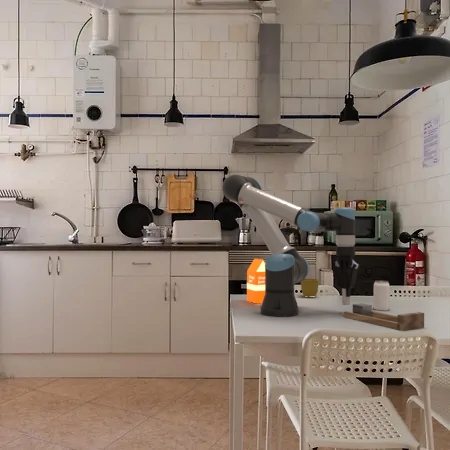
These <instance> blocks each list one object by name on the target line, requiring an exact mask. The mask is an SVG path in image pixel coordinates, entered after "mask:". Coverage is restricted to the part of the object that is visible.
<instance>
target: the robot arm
mask: <svg viewBox="0 0 450 450" xmlns="http://www.w3.org/2000/svg"><path fill="white" fill-rule="evenodd" d="M221 190H222V193H223V195H224V197H225V199H228V200H230V201H232V202H235V203H237V204H238V206H239V208H240V209H241V211H244V212H246V213H247V214H248V216H249V218H250V219H251V220H250V221H252V223H253V225H254V226H255V228H256V230H257V231H258V233H259V235H260V237H261V238H262V240H263V242H264V243H265V245H266V247H267V249H268V250H269V252H270V255H268V256H267V257H266V258H265V261H264V262H265V296H264V299H263V302H262V304H261V305H260V314H261V315H264V316H265V315H266V316H269V317H270V316H271V317H292V316H297V315H299V311H300V308H299V306H298V302H297V299H296V296H295V285H296V284H301V281H303V280H304V279H307V277H308V276H309V273H310V265H309V262H308V260H307V259H306V258H305V257H303V256H301V255H300V254H299V252H298V250H297V249H296V248H295V247H293V246H291V245H290V244H289V242H288V241H287V239H286V238H285V237H286V236H284V234H283V232H282V231H281V228H280V227H279V226H278V224H277V223H276V221H275V219H274V218H273V217H276V218H278V219H279V220H283V221H284V222H285V221H286V222H287V223H289V224H292V225H294V226H297V227H299V229H300V230H302V231H304V232H309V233H310V232H314V233H316V232H335V245H336V247H335V255H336V256H337V258H336V261H335V262H332V266H333V269H334V273H335V281H336V285H337V286H338V287H340V289H341V290H340V294H341V299H342V300H341V302H342V303H341V304H342V306H348V305H351V297H352V296H351V295H352V288H353V289H354V288H355V287H356V282H357V276H358V271H359V268H360V263H357V262H356V260H355V256H356V247H355V245H356V226H355V225H356V218H355V213H356V212H355V209H354V208H353V207H336V208H335V211H334V212H324V213H323V212H314V211H311V210H309V209H307V208H304V207H301V206H299V205H297V204H294V203H292V202H290V201H288V200H285V199H283V198H280V197H278V196H276V195H274V194H270V193H268V192H266V191H264V190H263V188H262V185H261V184H260V182H259V181H258V180H256V179H255V178H253V177H250V176H246V175H245V176H244V175H240V174H231V175H229V176H227V177H226V178H225V179H224V180H223V183H222V185H221Z"/></svg>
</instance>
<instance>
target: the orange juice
mask: <svg viewBox="0 0 450 450" xmlns="http://www.w3.org/2000/svg"><path fill="white" fill-rule="evenodd" d="M265 262H266V261H264V259H260V258H254V259H253V260H252V262H251V264H250V265H249V267H248V269H247V271H246V302H247V301H250V302H253V303H262V302H263V299H264V296H265ZM250 302H249V303H250ZM253 303H252V304H253Z"/></svg>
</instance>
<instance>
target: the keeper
mask: <svg viewBox="0 0 450 450" xmlns="http://www.w3.org/2000/svg"><path fill="white" fill-rule="evenodd" d="M372 311H373V305H372V304H369V303H368V304H366V303H353V304H352V313H356V314H361V315H365V316H370V317H372Z"/></svg>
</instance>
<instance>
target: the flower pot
mask: <svg viewBox="0 0 450 450" xmlns="http://www.w3.org/2000/svg"><path fill="white" fill-rule="evenodd" d="M319 281H320V280H319V279H318V278H305V279H304V280H303V281H301V282H300V289H301V293H302V295H303V297H304V296H315V297H316V296H317V294H318V289H319Z"/></svg>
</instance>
